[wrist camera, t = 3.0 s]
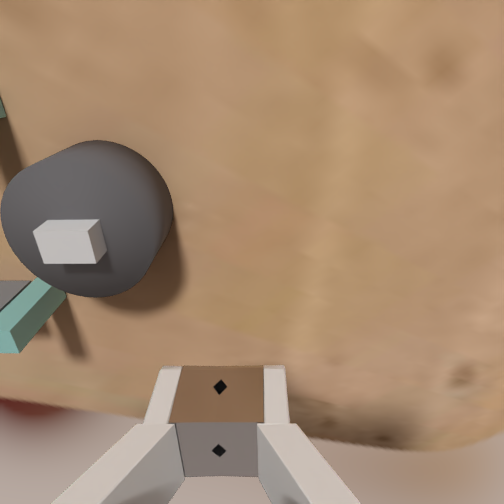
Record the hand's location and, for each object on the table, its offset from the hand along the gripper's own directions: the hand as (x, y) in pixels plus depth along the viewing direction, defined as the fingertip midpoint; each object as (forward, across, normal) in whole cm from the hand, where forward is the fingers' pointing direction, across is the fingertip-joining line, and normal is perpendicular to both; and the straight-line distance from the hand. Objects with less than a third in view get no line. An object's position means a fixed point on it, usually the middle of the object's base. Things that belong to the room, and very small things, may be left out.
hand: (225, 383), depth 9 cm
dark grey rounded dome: (+13, +7, 0) cm, 15 cm away
